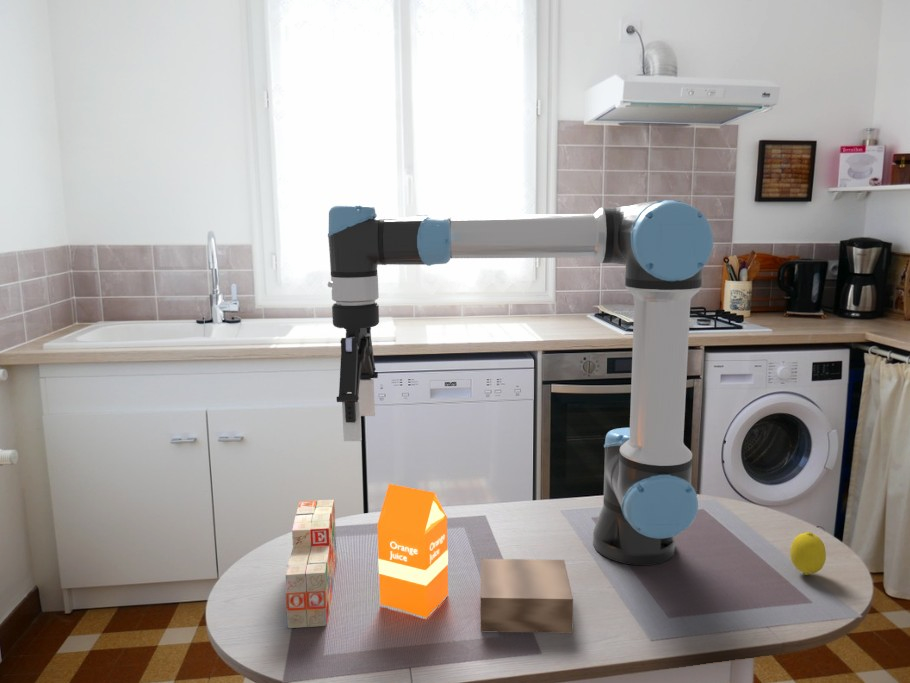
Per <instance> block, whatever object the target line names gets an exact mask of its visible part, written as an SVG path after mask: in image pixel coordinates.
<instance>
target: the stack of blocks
mask: <svg viewBox="0 0 910 683" xmlns="http://www.w3.org/2000/svg"><path fill="white" fill-rule="evenodd" d="M335 514H336V511H335V500H334V499H317V500H304V501H303V500H301V501H299V503H298V506H297V509H296V514H295V517H294V519H293V525H292V530H291V534H292V537H291V538H292V549H291V553H290V556H289V558H288V562H287V568H286V572H285V585H286V586H285V587H286V588H285V589H286V591H285V601H286V603H285V604H286V613H287V614H286V617H287V628H288V629H295V628H296V629H299V628H312V627H313V628H314V627H326V626H327V625H328V619H329V614H330V609H331V602H332V597H333V594H332V593H333V587H334V586H333V584H334V579H335V576H336V570H335V569H336V568H337V565H336V564H337V563H338V554H337V553H338V550H337V549H338V548H337V539H336V531H337V530H336V515H335ZM334 575H335V576H334ZM331 596H332V597H331Z"/></svg>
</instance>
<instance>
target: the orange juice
mask: <svg viewBox="0 0 910 683" xmlns="http://www.w3.org/2000/svg"><path fill="white" fill-rule="evenodd" d="M380 511H381V512H380V515H379V518H378V521H377V524H376V526H377V548H378V550H377V552H378V554H377V555H378V558H377V560H378V563H377V564H378V578H379V600H380V601H379V604H382V605H386V606H389V607H394V608H397V609H401V610H403V611H407V612H409V613H413V614H416V615H420V616H423V617H428V616H429V615H430V613H431V612H432V611H433V610H434V609H435V608H436V607H437V606H438V605H439V604H440V603H441V601H443V599H444V598H445V597H446V596H447V595H448V596H449V568H448V567H449V566H448V565H449V549H448V516H447V515H446V513H445V510H444V509H443V507H442V505H441V502H440V501H439V499H438V497H437V495H436V492H435V491H428V490H423V489H418V488H412V487H408V486H403V485H396V484H391V483H389V484H388V485H387V491H386V493H385V496H384V500H383V504H382V507H381V510H380Z"/></svg>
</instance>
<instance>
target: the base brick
mask: <svg viewBox="0 0 910 683" xmlns="http://www.w3.org/2000/svg"><path fill="white" fill-rule="evenodd" d="M573 612H574V597H573V594H572V588H571V583H570V580H569V574H568V569H567V566H566V562H565V559H536V558H534V559H532V558H531V559H527V558H525V559H524V558H522V559H521V558H512V559H511V558H480V632H481V631H497V632H496V633H547V634H548V633H549V634H553V633H554V634H556V633H557V634H558V633H559V634H566V633H568V634H572V633H573V622H574V621H573V616H574V613H573Z"/></svg>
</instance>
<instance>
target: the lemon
mask: <svg viewBox="0 0 910 683" xmlns="http://www.w3.org/2000/svg"><path fill="white" fill-rule="evenodd" d="M789 551H790V552H789V553H790V554H789V555H790V560H791V562H792V564H793V566H794V567H795V568H796V569H797V570H798V571H799V572H802V573H803V574H804V576H809V575H810V574H815V573H817V572H819V571H822V570H821V569H822V568H823V567H824V566H825V564H826V559H827V553H826V551H827V550H826V547H825V543H824V542H823V540H822V539H821V538H820V537H819V536H818V535H816V534H814V533H813V532H811V531H807V532H803V533H799V534H798V535H796V536H795V537H794V538H793V540H792V542H791V546H790V550H789Z"/></svg>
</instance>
